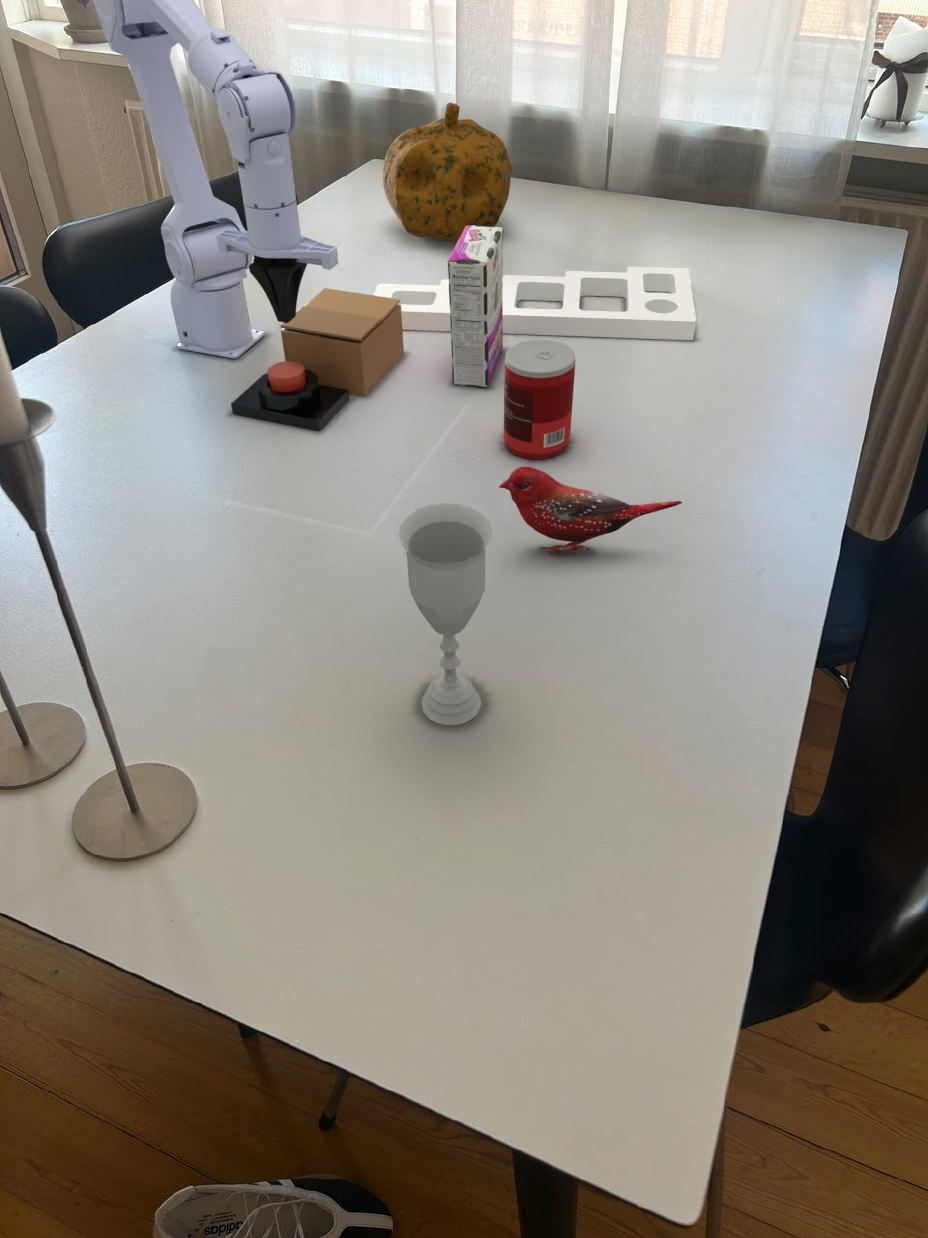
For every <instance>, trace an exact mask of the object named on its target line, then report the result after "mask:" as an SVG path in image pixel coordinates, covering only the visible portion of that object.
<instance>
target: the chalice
mask: <svg viewBox="0 0 928 1238" xmlns="http://www.w3.org/2000/svg"><path fill="white" fill-rule="evenodd" d="M398 537H399V541H400V544H401V546H402V547H403V549H404V550H405V551H406V561H407V562H406V564H407V577H408V579H407V580H408V587H409V591H410V595H411V596H412V598H413V600H414V602H415V604H416V606H417V608H418V611H419V612H420V614H421V615H422V616H423V617H424V618H425V620H426V622H427V623H428V624H429V625H430V627H431V628H432V629H433V630H434V632H435V633H437V634H439V635H441V636H442V640H441V641H440V642H439V648H440V650H441V651H442V653H443V655H442V656H441V657H440V659H439V661H438V662H439V666H440V667H441V668H442V669H443V670H444V672H443V673H441V674H439V675H437V676H435V677H434V678H433V679H431V681H430V683H429V686H428V687H427V689H426V690H425V693H424V695H423V697H422V699H421V708H422V712H423V713H424V714H425V716H426V717H427V718H428V720H430V721H433V722H434V723H437V724H440V725H443V726H458V725H463V724H465V723H467V722H469V721H472V720H473V719H474V718H475V717H476V716H477V715H478V713H479V711H480V709H481V704H482V700H481V696H480V694H479V693H478V692H477V691H476V688H475V687H474V685H473V684H472V681H471V680H470V679H469V678H468V677H467V676H465V675H463V674H462V673H459V672H456V671H457V669H458V668H459V667H460V665H461V659H460V657H459V656H457V654H456V652H457V651H458V649H459V648H460V643H459V641H458V640H457V639H456V635H457V634H459V633H461V632H462V631H464V629H465V627H466V626H467V625H468V623H469V622H470V620H471V619H472V617H473V615H474V614H475V612H476V611H477V608H478V607H479V605H480V602H481V600H482V598H483V595H484V593H485V590H486V561H487V560H486V557H487V556H486V555H487V554H486V549H488V546H489V545H490V543H491V541H492V539H493V528H492V525H491V523H490V521H489V519H488V518H487V517H485V516H484V514H483V513H482V512H480V511H479V510H476V509H474V508H472V507H470V506H467V505H463V504H459V503H447V502H446V503H445V502H444V503H443V502H442V503H435V504H430V505H426V506H423V507H421V508H418V509H416V510H414V511H413V512H412V513H410V514H409V515H407V516H406V517H405V519H404V520H403V521H402V523H401V524H400V527H399V531H398Z"/></svg>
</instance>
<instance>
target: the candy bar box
mask: <svg viewBox="0 0 928 1238" xmlns="http://www.w3.org/2000/svg"><path fill="white" fill-rule="evenodd" d="M503 230H504V229H503V227H501V226H493V227H488V226H476V225H470V226H466V227H465V229H464V231H463V233H462V235H461V237H460V238H459V239H458V240H457V241H456V244H455V246H454V248H453V250H452V252H451V254H450V256H449V258H448V259H447V273H448V279H449V303H450V322H451V331H450V342H451V343H450V345H451V368H452V372H451V373H452V376H451V377H452V384H453V385H455V386H460V387H475V388H489V386H490V383H491V380H492V378H493V375H494V373H495V369H496V367H497V364H498V362H499V359H500V356H501V354H502V351H503V350H504V346H503V345H504V344H503V342H504V341H503V339H504V338H503V337H504V336H503V335H504V333H503V304H502V303H503V291H502V287H503V285H502V283H503V278H504V275H503Z"/></svg>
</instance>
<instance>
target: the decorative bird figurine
mask: <svg viewBox="0 0 928 1238" xmlns="http://www.w3.org/2000/svg"><path fill="white" fill-rule="evenodd" d="M498 488H499V489H500V488H501V489H505V490H508V491H509V493H510V497H511V500H512V501H513V502H514V504H515V506H516V508H517V510H518V512H519V513H520V516H521V518H522V519H523V521H524V522H525V523H526V525H528V526H529V527H530V528H531V529H533V530H534V531H535V532H536V533H539V534H541V535H542V536H545V537H547V538H549V539H552V540H556V541H562V542H568V543H565V544H555V545H552V546H549V547H548V546H540V547H539V546H538V547H537V549H542V550H548V551H553V552H555V553H564V552H582V551H584V549H585V550H588V551H591V549H590V547H588V546H586V545H581V544H582V543H585V542H586V541H590V540H592V539H595V538H597V537H600V536H604V535H607V534H608V535H609V534H611V533H614V532H616V531H619V530H620V529H621V528H623V527H625V526H626V525H627V524H628V523H630V522H632V521H633V520H635V519H637V518H640V517H642V516H644V515H645V516H646V515H648V514H652V513H656V512H659V511H664V510H667V509H671V508H674V507H676V506H679V505H681V504H683V502H682V500H673V501H672V500H670V501H669V500H668V501H662V502H652V503H643V504H629V503H626V502H624V501H622V500H619V499H616V498H614V497H612V496H609V495H605V494H602V493H599V492H596V491H592V490H587V489H584V488H578V487H574V486H571V485H568V484H564V483H562V482H559V481H557V480H556V479H554V478H553V477H552V476H551V475H550V474H548V473H547V472H545V471H543V470H541V469H539V468H535V467H533V466H528V465H523V466H519V467H516V469H514V470H513V471H512V472H511V473H510V475H509V477H508V479H506V480H505V481H503V482H502V483H501V484H499V486H498Z"/></svg>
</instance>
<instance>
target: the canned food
mask: <svg viewBox="0 0 928 1238" xmlns="http://www.w3.org/2000/svg"><path fill="white" fill-rule="evenodd" d="M503 375H504V376H503V380H504V381H503V382H504V383H503V440H504V443H505V446H506V448H507V449H508V451H509V452H511V453H513V455H516V456H518V457H520V458H524V459H530V460H542V459H543V460H544V459H549V458H552V457H555V456H557V455H559V454H561V453H562V452H564V451H565V449H566V448H567V446H568V444H569V442H570V439H571V429H572V428H571V427H572V416H573V415H572V414H573V403H574V402H573V401H574V390H575V375H576V354H575V351H574V349H572V348H571V347H570V346H569V345H567V344H565V343H563V342H560V341H556V340H550V339H531V340H526V341H522V342H519V343H516V344H514V345H512V346H511V347H510V348H509V349H507V350H506V353H505V359H504V374H503Z"/></svg>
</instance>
